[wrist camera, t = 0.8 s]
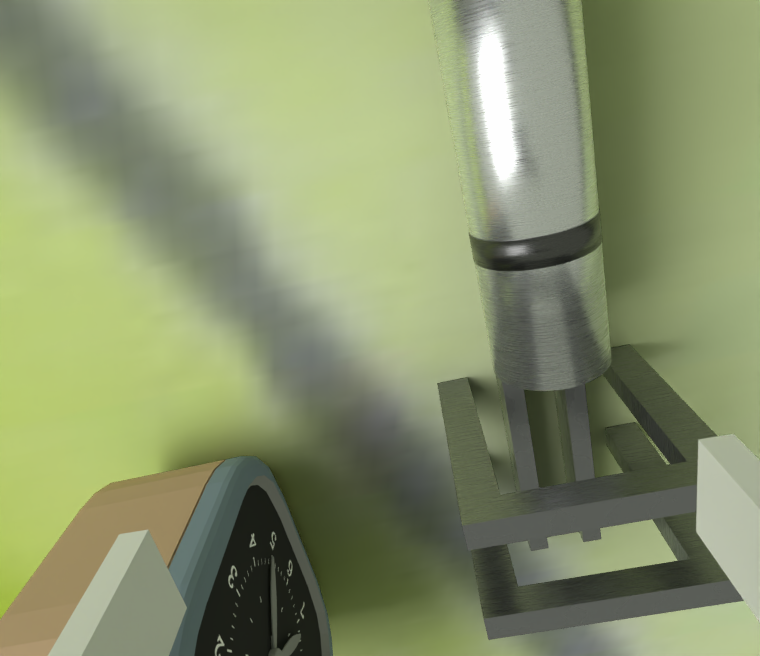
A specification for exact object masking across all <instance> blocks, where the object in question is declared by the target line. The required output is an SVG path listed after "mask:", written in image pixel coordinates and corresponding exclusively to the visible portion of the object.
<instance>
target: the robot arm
mask: <svg viewBox="0 0 760 656" xmlns="http://www.w3.org/2000/svg"><path fill="white" fill-rule="evenodd" d="M696 532H697V534H698V535H699V537H700V538H701V539H702V541H703V542H704V544H705V545H706V547H707V548H708V550H709V551H710V552H711V554H712V555H713V557H714V558H715V560H716V561H717V562H718V564H719V565H720V567H721V568H722V570H723V571H724V572H725V574H726V575H727V577H728V578H729V580H730V581H731V583H732V584H733V585H734V587H735V588H736V590H737V591H738V593H739V594H740V595H741V597H742V598H743V600H744V601H745V603H746V604H747V606H748V607H749V608H750V610H751V611H752V613H753V614H754V616H755V617H756V618H757V620H758V621H759V623H760V460H759V459H758V458H757V457H756V456H755V455H754V454H753V453H752V452H751V451H750V450H749V449H748V448H747V447H746V446H745V445H744V444H743V443H742V442H741V441H740V440H739V439H738V438H737V437H736V436H735V435H734V434H729V435H723V436H717V437H711V438H705V439H698V473H697V514H696ZM186 609H187V607H186V605H185V603H184V601H183V599H182V596H181V594H180V592H179V590H178V588H177V586H176V584H175V582H174V580H173V578H172V576H171V574H170V572H169V570H168V568H167V566H166V564H165V562H164V560H163V558H162V556H161V554H160V552H159V550H158V548H157V546H156V544H155V542H154V540H153V538H152V536H151V534H150V532H149V530H142V531H136V532H130V533H124V534H119V535H118V537H117V539H116V541H115V542H114V544H113V546H112V547H111V549H110V551H109V552H108V554H107V556H106V557H105V559H104V561H103V563H102V564H101V566H100V568H99V569H98V571H97V573H96V574H95V576H94V578H93V580H92V581H91V583H90V585H89V586H88V588H87V590H86V591H85V593H84V595H83V597H82V598H81V600H80V602H79V603H78V605H77V607H76V608H75V610H74V612H73V614H72V615H71V617H70V619H69V620H68V622H67V624H66V625H65V627H64V629H63V631H62V632H61V634H60V636H59V637H58V639H57V641H56V642H55V644H54V646H53V648H52V649H51V651H50V653H49V654H48V656H169V654H170V651H171V649H172V646H173V643H174V641H175V638H176V635H177V633H178V630H179V627H180V625H181V622H182V619H183V617H184V614H185V612H186Z"/></svg>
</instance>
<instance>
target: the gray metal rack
mask: <svg viewBox="0 0 760 656" xmlns="http://www.w3.org/2000/svg"><path fill="white" fill-rule="evenodd" d="M603 376H604V377H605V378H606V380H607V381H608V382H609V384H610V385H611V386H612V388H613V389H614V390H615V392H616V393H617V394H618V396H619V397H620V398H621V399H622V401H623V402H624V403H625V405H626V406H627V407H628V409H629V410H630V411H631V413H632V414H633V415H634V417H635V418H636V419H637V421H638V422H639V423H640V425H641V426H642V427H643V428H644V430H645V431H646V432H647V434H648V435H649V436H650V438H651V439H652V440H653V442H654V443H655V444H656V446H657V447H658V448H659V450H660V451H661V452H662V453H663V455H664V456H665V457H666V459H667V460H668V461H669V463H670V465H667V464H666V463H665V462H664V460H663V459H662V458H661V456H660V455H659V454H658V452H657V451H656V450H655V448H654V447H653V446H652V444H651V443H650V442H649V440H648V439H647V438H646V436H645V435H644V434H643V432H642V431H641V430H640V428H639V427H638V426H637V424H636V423H635V422H634V423H629V424H623V425H618V426H613V427H607V428H605V431H606V442H607V447H608V448H609V450H610V452H611V453H612V455H613V456H614V458H615V460H616V461H617V463H618V465H619V466H620V468H621V469H622V471H623V473H620V474H614V475H609V476H603V477H598V478H595V475H594V466H593V456H592V447H591V437H590V428H589V419H588V409H587V400H586V390H585V384H583V385H580V386H577V387H573V388H568V389H563V390H554V392H555V399H556V407H557V415H558V422H559V430H560V438H561V445H562V453H563V460H564V468H565V476H566V483H564V484H559V485H553V486H548V487H542V488H539V484H538V478H537V471H536V465H535V458H534V452H533V445H532V439H531V433H530V426H529V420H528V413H527V407H526V401H525V394H524V389H520V388H516V387H513V386H510V385H508V384H506V383H504V382H503V381H501V380H500V379H499V378H498V377H497V376H496V379H497V385H498V390H499V396H500V402H501V407H502V413H503V419H504V424H505V430H506V436H507V441H508V447H509V453H510V458H511V464H512V470H513V475H514V481H515V487H516V492H514V493H509V494H503V495H500V492H499V488H498V485H497V481H496V478H495V474H494V470H493V467H492V463H491V460H490V456H489V453H488V449H487V446H486V442H485V438H484V435H483V431H482V428H481V424H480V421H479V417H478V414H477V410H476V406H475V403H474V399H473V396H472V392H471V389H470V385H469V382H468V378H462V379H457V380H452V381H447V382H442V383H437V384H438V390H439V395H440V401H441V407H442V413H443V418H444V424H445V430H446V436H447V441H448V447H449V453H450V458H451V464H452V470H453V476H454V481H455V487H456V493H457V499H458V504H459V510H460V516H461V522H462V527H463V531H464V536H465V540H466V544H467V549H468V550H471V552H472V558H473V563H474V569H475V574H476V579H477V585H478V590H479V596H480V601H481V607H482V612H483V617H484V622H485V626H486V631H487V635H488V639H489V640H490V639H497V638H503V637H510V636H516V635H523V634H529V633H536V632H542V631H549V630H555V629H562V628H568V627H575V626H581V625H588V624H594V623H601V622H607V621H614V620H621V619H627V618H634V617H640V616H647V615H653V614H660V613H666V612H673V611H679V610H686V609H692V608H699V607H705V606H712V605H718V604H725V603H731V602H738V601H744V600H743V598H742V597H741V595H740V594H739V593H738V591H737V590H736V588H735V587H734V585H733V584H732V583H731V581H730V580H729V578H728V577H727V575H726V574H725V572H724V571H723V570H722V568H721V567H720V565H719V564H718V562H717V561H716V560H715V558H714V557H713V555H712V554H711V552H710V551H709V550H708V548H707V547H706V545H705V544H704V542H703V541H702V539H701V538H700V537H699V535H698V534H697V532H696V514H697V473H698V439H705V438H711V437H717V435H716V434H715V433H714V432H713V431H712V430H711V429H710V428H709V427H708V426H707V425H706V424H705V423H704V422H703V421H702V420H701V418H700V417H699V416H698V415H697V414H696V413H695V412H694V411H693V410H692V409H691V408H690V407H689V406H688V405H687V404H686V403H685V402H684V401H683V400H682V399H681V398H680V397H679V395H678V394H677V393H676V392H675V391H674V390H673V389H672V388H671V387H670V386H669V385H668V384H667V383H666V382H665V381H664V380H663V379H662V378H661V377H660V376H659V375H658V374H657V372H656V371H655V370H654V369H653V368H652V367H651V366H650V365H649V364H648V363H647V362H646V361H645V360H644V359H643V358H642V357H641V356H640V355H639V354H638V353H637V352H636V351H635V349H634V348H633V347H632V346H631V345H625V346H620V347H615V348H611V364H610V366H609V368H608V369H607V370H606V371H605V372H604V373H603ZM650 519H653V521H654V523H655V524H656V526H657V528H658V529H659V531H660V532H661V534H662V536H663V537H664V539H665V540H666V542H667V544H668V545H669V547H670V549H671V550H672V552H673V553H674V555H675V557H676V558H677V560H678V561H674V562H668V563H662V564H655V565H649V566H643V567H637V568H631V569H625V570H618V571H612V572H606V573H600V574H594V575H588V576H581V577H575V578H569V579H563V580H557V581H551V582H544V583H538V584H532V585H526V586H520V587H518V585H517V581H516V577H515V574H514V570H513V566H512V562H511V559H510V555H509V551H508V547H507V544H509V543H515V542H521V541H527V540H528V543H529V546H530V549H531V551H533V550H539V549H545V548H548V542H547V537H550V536H556V535H562V534H568V533H574V532H579V533H580V535H581V537H582V540H583V542H587V541H592V540H598V539H601V532H600V528H603V527H609V526H615V525H621V524H627V523H632V522H638V521H644V520H650Z"/></svg>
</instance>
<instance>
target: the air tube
mask: <svg viewBox="0 0 760 656" xmlns="http://www.w3.org/2000/svg"><path fill="white" fill-rule="evenodd" d="M428 2H429V8H430V13H431V19H432V25H433V30H434V36H435V42H436V47H437V53H438V59H439V64H440V70H441V75H442V81H443V87H444V92H445V98H446V104H447V109H448V115H449V120H450V126H451V132H452V137H453V143H454V149H455V154H456V160H457V165H458V171H459V177H460V182H461V188H462V194H463V199H464V205H465V211H466V216H467V222H468V227H469V237H470V242H471V248H472V253H473V259H474V262H475V267H476V272H477V278H478V284H479V289H480V295H481V301H482V306H483V312H484V317H485V323H486V329H487V334H488V340H489V346H490V351H491V357H492V363H493V368H494V372H495V374H496V376H497V377H498V378H499V379H500V380H501V381H503V382H504V383H506V384H508V385H510V386H513V387H516V388H520V389H525V390H532V391H554V390H563V389H568V388H573V387H577V386H580V385H583V384H585V383H588V382H590V381H592V380H594V379H596V378H598V377H599V376H601V375H602V374H603V373H604V372H605V371H606V370H607V369H608V368H609V366H610V364H611V347H610V335H609V323H608V311H607V299H606V287H605V275H604V263H603V251H602V230H601V218H600V209H599V203H598V191H597V179H596V167H595V155H594V143H593V131H592V119H591V107H590V95H589V83H588V71H587V59H586V47H585V35H584V23H583V11H582V0H428Z"/></svg>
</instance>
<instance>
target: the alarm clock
mask: <svg viewBox="0 0 760 656" xmlns="http://www.w3.org/2000/svg"><path fill="white" fill-rule="evenodd" d="M142 530H149V532H150V534H151V536H152V538H153V540H154V542H155V544H156V546H157V548H158V550H159V552H160V554H161V556H162V558H163V560H164V562H165V564H166V566H167V568H168V570H169V572H170V574H171V576H172V578H173V580H174V582H175V584H176V586H177V588H178V590H179V592H180V594H181V596H182V599H183V601H184V603H185V605H186V607H187V609H186V612H185V614H184V617H183V619H182V622H181V625H180V627H179V630H178V633H177V635H176V638H175V641H174V643H173V646H172V649H171V651H170V654H169V656H333V650H332V638H331V631H330V625H329V620H328V614H327V610H326V607H325V604H324V601H323V598H322V594H321V591H320V588H319V585H318V581H317V579H316V576H315V574H314V571H313V569H312V566H311V564H310V561H309V559H308V556H307V554H306V551H305V549H304V546H303V544H302V541H301V539H300V536H299V534H298V531H297V529H296V526H295V524H294V521H293V518H292V516H291V513H290V511H289V508H288V506H287V503H286V501H285V498H284V496H283V494H282V492H281V490H280V488H279V486H278V484H277V482H276V480H275V478H274V476H273V474H272V472H271V470H270V468H269V467H268V466H267V465H265V464H264V463H263V462H262V461H261V460H260V459H258V458H257V457H256V456H240V457H235V458H231V459H226V460H221V461H216V462H211V463H206V464H201V465H196V466H191V467H187V468H182V469H177V470H172V471H167V472H162V473H157V474H152V475H148V476H143V477H138V478H133V479H128V480H123V481H118V482H113V483H110V484H108V485H107V486H105V487H104V488H102V489H101V490H99V491H98V492H96V493H95V494H94V495H93V496H92V497H91V498H90V499H89V500H88V502H87V503H86V504H85V505H84V506H83V507H82V508H81V510H80V511H79V512H78V513H77V515H76V516H75V518H74V519H73V520H72V522H71V523H70V524H69V526H68V527H67V529H66V530H65V531H64V533H63V534H62V535H61V537H60V538H59V540H58V541H57V542H56V544H55V545H54V546H53V548H52V549H51V551H50V552H49V553H48V555H47V556H46V557H45V559H44V560H43V562H42V563H41V564H40V566H39V567H38V568H37V570H36V571H35V572H34V574H33V575H32V577H31V578H30V579H29V581H28V582H27V583H26V585H25V586H24V588H23V589H22V590H21V592H20V593H19V594H18V596H17V597H16V599H15V600H14V601H13V603H12V604H11V605H10V607H9V608H8V610H7V611H6V612H5V614H4V615H3V616H2V618H1V620H0V656H48V654H49V653H50V651H51V649H52V648H53V646H54V644H55V642H56V641H57V639H58V637H59V636H60V634H61V632H62V631H63V629H64V627H65V625H66V624H67V622H68V620H69V619H70V617H71V615H72V614H73V612H74V610H75V608H76V607H77V605H78V603H79V602H80V600H81V598H82V597H83V595H84V593H85V591H86V590H87V588H88V586H89V585H90V583H91V581H92V580H93V578H94V576H95V574H96V573H97V571H98V569H99V568H100V566H101V564H102V563H103V561H104V559H105V557H106V556H107V554H108V552H109V551H110V549H111V547H112V546H113V544H114V542H115V541H116V539H117V537H118V535H119V534H124V533H130V532H136V531H142Z"/></svg>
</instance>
